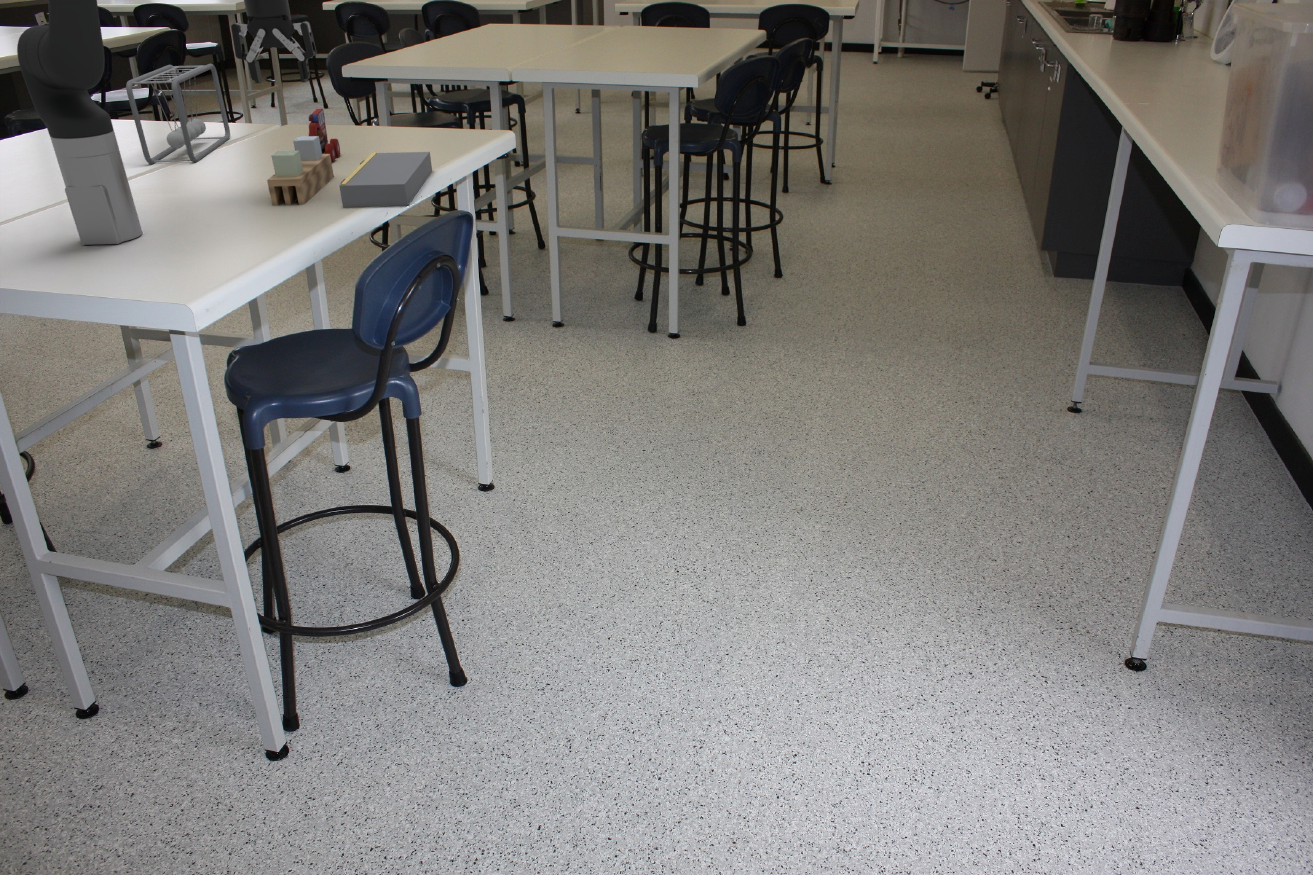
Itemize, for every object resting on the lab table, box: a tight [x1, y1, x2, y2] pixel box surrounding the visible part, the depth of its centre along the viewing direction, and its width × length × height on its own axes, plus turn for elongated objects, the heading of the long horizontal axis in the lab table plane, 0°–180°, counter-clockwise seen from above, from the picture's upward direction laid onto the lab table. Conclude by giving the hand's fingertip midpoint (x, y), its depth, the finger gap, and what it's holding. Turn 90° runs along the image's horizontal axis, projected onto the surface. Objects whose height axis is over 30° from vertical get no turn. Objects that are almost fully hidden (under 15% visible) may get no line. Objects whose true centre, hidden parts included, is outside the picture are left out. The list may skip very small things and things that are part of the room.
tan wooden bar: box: [266, 154, 335, 206], centre depth 187 cm, size 22×6×5 cm, turn 2°
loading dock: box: [339, 151, 433, 208], centre depth 188 cm, size 28×13×4 cm, turn 2°
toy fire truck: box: [308, 108, 341, 163], centre depth 210 cm, size 7×12×10 cm, turn 5°
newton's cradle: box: [125, 63, 231, 165], centre depth 219 cm, size 30×10×18 cm, turn 7°
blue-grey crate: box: [292, 135, 322, 161], centre depth 191 cm, size 4×4×4 cm
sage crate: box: [271, 150, 303, 177], centre depth 179 cm, size 4×4×4 cm
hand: (282, 82), depth 179 cm, fingers open, 8 cm apart
